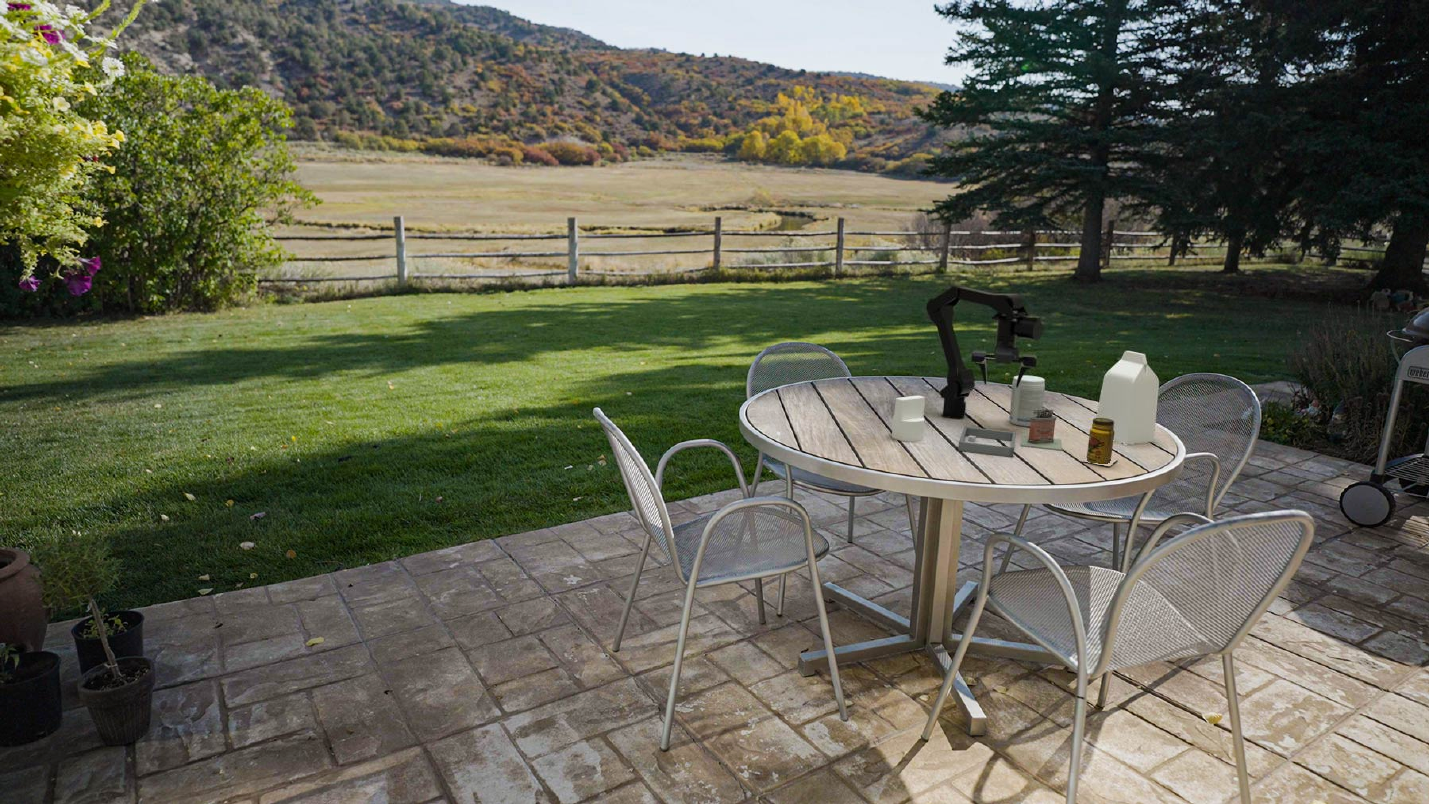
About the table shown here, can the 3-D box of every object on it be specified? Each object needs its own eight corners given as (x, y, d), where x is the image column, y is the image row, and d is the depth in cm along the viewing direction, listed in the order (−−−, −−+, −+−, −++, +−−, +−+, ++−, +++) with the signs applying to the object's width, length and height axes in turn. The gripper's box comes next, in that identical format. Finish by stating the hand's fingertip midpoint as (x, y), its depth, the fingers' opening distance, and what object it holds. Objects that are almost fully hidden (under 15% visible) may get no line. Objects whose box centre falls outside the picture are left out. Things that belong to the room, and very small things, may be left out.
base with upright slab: (905, 443, 243) (908, 402, 240) (885, 435, 251) (888, 395, 248) (929, 439, 247) (932, 399, 244) (909, 431, 255) (912, 393, 252)
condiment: (1080, 462, 228) (1086, 419, 225) (1090, 455, 235) (1096, 414, 232) (1109, 468, 224) (1115, 424, 221) (1118, 461, 230) (1124, 418, 227)
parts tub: (958, 450, 236) (958, 442, 236) (963, 434, 252) (964, 426, 252) (1012, 457, 231) (1013, 448, 231) (1014, 440, 247) (1015, 432, 247)
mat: (1020, 446, 242) (1020, 444, 242) (1021, 436, 252) (1021, 435, 252) (1061, 450, 238) (1061, 449, 238) (1061, 440, 248) (1061, 439, 248)
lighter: (1048, 439, 248) (1052, 406, 245) (1056, 442, 245) (1060, 409, 242) (1025, 441, 246) (1028, 407, 243) (1032, 444, 243) (1036, 410, 240)
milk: (1092, 434, 256) (1104, 350, 250) (1120, 431, 260) (1132, 348, 254) (1125, 445, 245) (1138, 357, 239) (1153, 441, 250) (1166, 355, 243)
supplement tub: (1047, 425, 266) (1052, 379, 262) (1028, 429, 260) (1033, 382, 257) (1021, 418, 273) (1026, 373, 270) (1002, 421, 268) (1006, 376, 265)
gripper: (972, 337, 251) (967, 388, 255) (1038, 342, 245) (1032, 394, 249) (975, 332, 261) (970, 381, 265) (1039, 336, 255) (1033, 386, 259)
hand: (1001, 385), depth 259 cm, fingers open, 9 cm apart
